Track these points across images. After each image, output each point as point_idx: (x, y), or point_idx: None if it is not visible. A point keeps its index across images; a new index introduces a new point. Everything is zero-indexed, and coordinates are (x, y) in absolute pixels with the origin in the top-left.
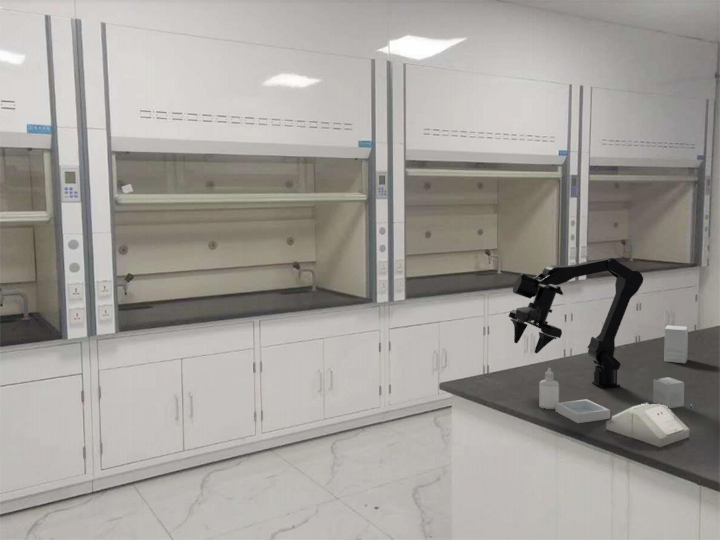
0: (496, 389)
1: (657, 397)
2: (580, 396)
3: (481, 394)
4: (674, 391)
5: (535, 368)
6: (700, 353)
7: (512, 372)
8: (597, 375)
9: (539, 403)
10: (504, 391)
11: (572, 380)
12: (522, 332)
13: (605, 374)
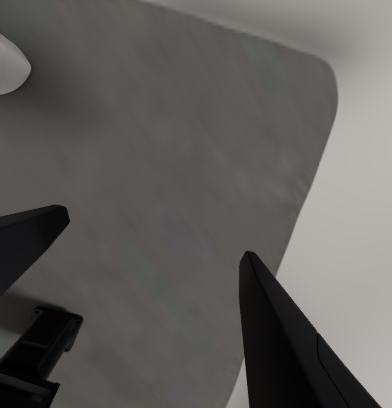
0: (215, 127)
1: None
2: None
3: (221, 53)
4: None
5: (235, 322)
6: None
7: None
8: (37, 334)
9: (5, 37)
10: (190, 126)
11: (128, 307)
12: (252, 385)
13: (14, 347)
